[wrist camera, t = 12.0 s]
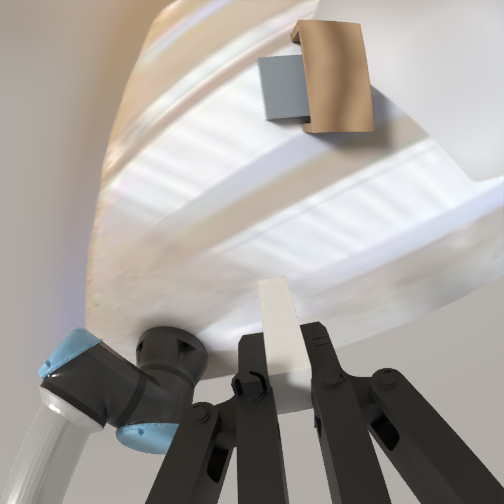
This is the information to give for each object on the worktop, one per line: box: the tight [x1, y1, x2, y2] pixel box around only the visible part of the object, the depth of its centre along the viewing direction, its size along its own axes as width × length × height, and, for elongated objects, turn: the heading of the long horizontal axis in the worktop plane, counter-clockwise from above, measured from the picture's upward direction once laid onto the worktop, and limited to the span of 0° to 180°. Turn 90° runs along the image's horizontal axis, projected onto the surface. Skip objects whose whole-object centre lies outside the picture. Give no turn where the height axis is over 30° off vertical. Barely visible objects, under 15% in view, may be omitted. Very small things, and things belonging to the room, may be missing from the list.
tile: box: [257, 55, 310, 120], centre depth 34 cm, size 12×9×3 cm
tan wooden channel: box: [291, 20, 374, 133], centre depth 31 cm, size 8×15×7 cm, turn 7°
